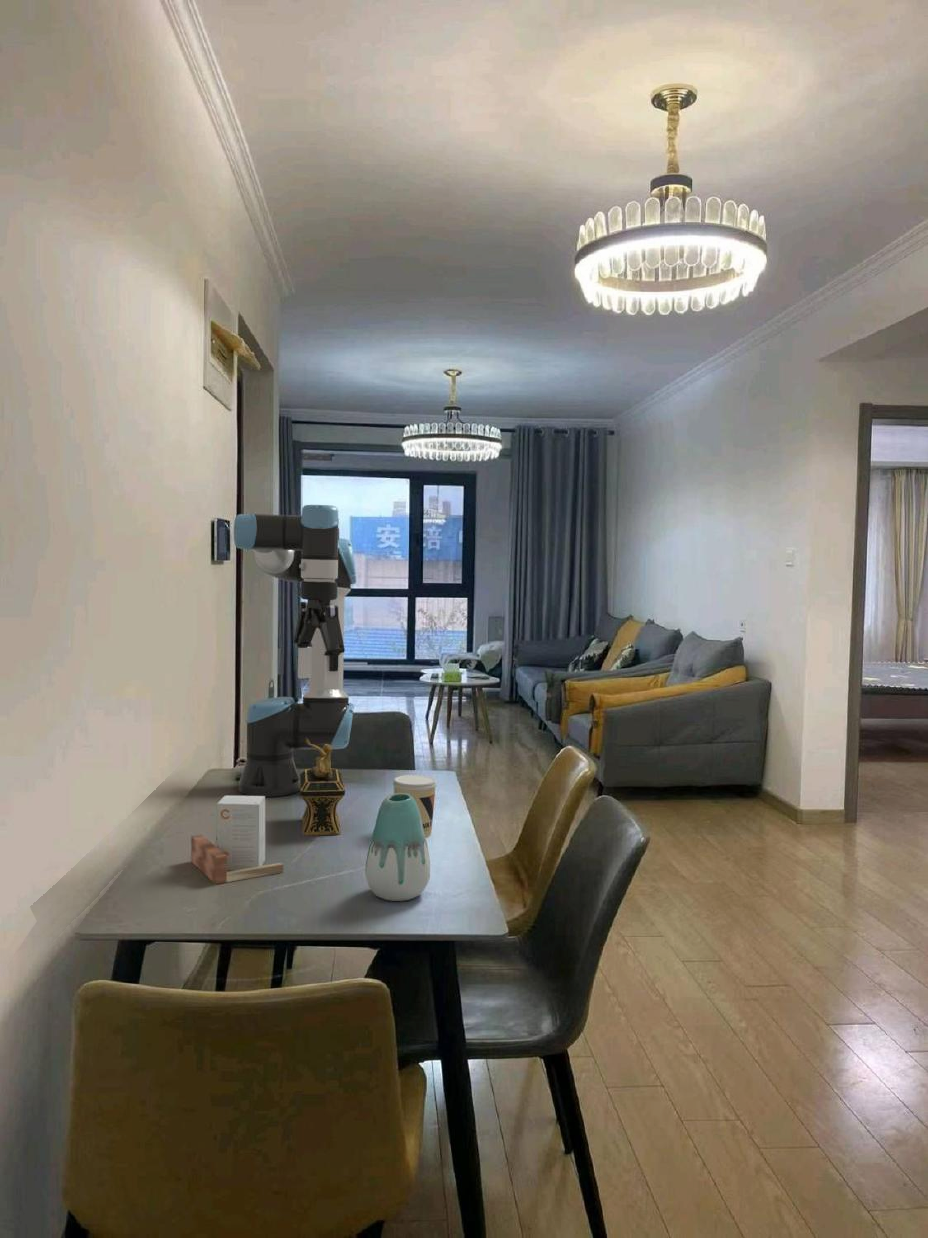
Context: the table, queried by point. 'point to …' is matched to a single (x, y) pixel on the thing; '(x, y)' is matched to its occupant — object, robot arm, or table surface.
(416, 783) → the coffee cup
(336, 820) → the decorative box
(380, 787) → the table surface
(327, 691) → the robot arm
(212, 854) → the keeper seat
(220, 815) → the small box
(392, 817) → the vase
